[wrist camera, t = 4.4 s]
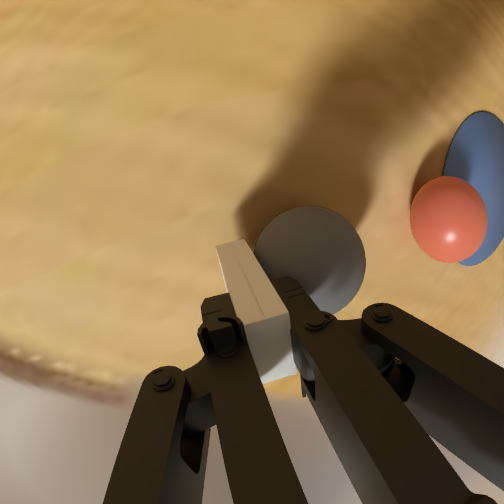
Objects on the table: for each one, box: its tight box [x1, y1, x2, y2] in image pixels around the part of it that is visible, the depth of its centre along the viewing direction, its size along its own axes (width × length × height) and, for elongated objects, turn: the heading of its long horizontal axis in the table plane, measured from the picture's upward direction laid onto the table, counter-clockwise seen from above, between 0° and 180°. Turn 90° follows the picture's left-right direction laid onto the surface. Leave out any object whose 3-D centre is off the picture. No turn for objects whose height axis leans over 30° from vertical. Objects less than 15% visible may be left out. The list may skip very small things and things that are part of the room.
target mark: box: [443, 112, 504, 266], centre depth 19 cm, size 14×14×1 cm
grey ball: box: [254, 206, 366, 315], centre depth 14 cm, size 6×6×6 cm
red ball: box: [410, 176, 488, 263], centre depth 15 cm, size 6×6×6 cm
